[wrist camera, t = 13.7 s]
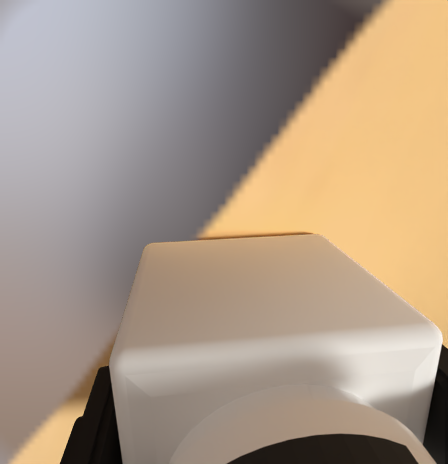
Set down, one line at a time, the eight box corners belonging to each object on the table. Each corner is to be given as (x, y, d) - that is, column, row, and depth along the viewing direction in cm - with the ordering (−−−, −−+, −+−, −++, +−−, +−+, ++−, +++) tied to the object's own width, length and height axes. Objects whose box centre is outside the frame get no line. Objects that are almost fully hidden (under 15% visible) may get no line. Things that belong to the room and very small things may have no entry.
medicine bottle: (157, 393, 15) (87, 1146, 4) (143, 240, 13) (-87, 920, 2) (313, 378, 16) (625, 979, 5) (323, 231, 14) (923, 683, 3)
